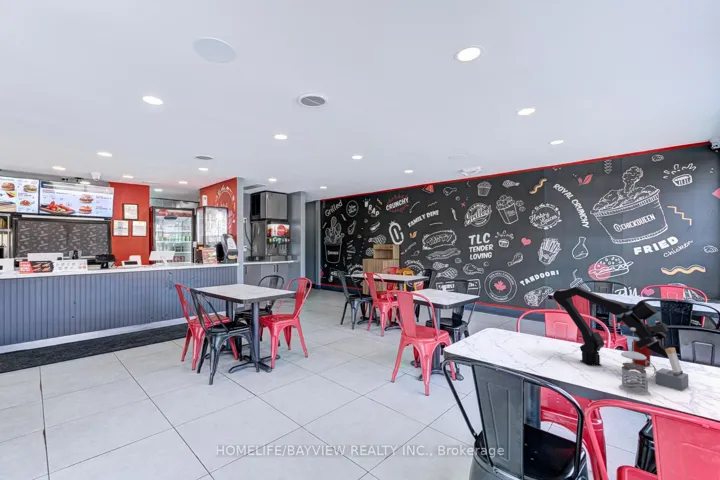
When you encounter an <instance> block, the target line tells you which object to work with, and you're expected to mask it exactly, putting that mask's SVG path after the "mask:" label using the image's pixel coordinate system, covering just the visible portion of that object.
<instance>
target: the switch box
mask: <svg viewBox="0 0 720 480" xmlns="http://www.w3.org/2000/svg"><path fill="white" fill-rule="evenodd" d="M681 371H682V372H681V373H680V374H677V373H675V372H673V370H672V369H668V368H663V367H662V368H660V369H658V370H655V372H656V373H657V374H656V377H655V378H654V379H655V385H658V386H661V387H665V388H668V389H673V390H676V391H680V392H682V391H684V390H686V389H687V388H688V387H689V384H690V383H689V374H688V373H684V370H681Z"/></svg>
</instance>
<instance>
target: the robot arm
mask: <svg viewBox="0 0 720 480" xmlns="http://www.w3.org/2000/svg"><path fill="white" fill-rule="evenodd" d="M575 296H577V297H580V298H582V299H584V300H587V301H590V302H591V303H594V304H597V305H599V306H600V307H602V308H603V309H604V310H605V311H607V312H608V313H610V314H612V315H614V316H616V324H621V323H623V324H625V326H626V327H627V328H628V329H629V330H630V328H635V329H636V331H631V332H630V333H631V334H632V335H633V334H635V335H636V337H637V338H638V339H640V340H639V341H637V342H636V346H637V347H638V348H639V349H641V348H643V347H644V346H646V345H648V347H646V348H647V349H650V351H652V352H654V353H657V354H658V355H660V356H662V357H664V358H666V359H669V358H668V355H667V354H666V351H665V349H667V348H666V346H665V345H664V340H665V339H664V338H666V337H667V336H668V335H667V334H665V333H666V332H669V331H670V330H669V328H668V324H666V323H664V322H662V321H657V322H655V324H654V325H649V324H648V323H644V322H643V321H641V320H644V321H647V320H649V319H650V318H652V317H653V316H655V315H656V314H658V313H659V312H658V310H657V309H656V307H654V306H653V305H652V304H649V303H648V302H646V301H645V300H641V301H640V302H638V303H637V304H636V305H634V306H631V305H628V304H626V303H625V302H623V301H620V300H616V299H609V298H606V297H604V296H601V295H599V294H596V293H594V292H592V291H589V290H588V289H587V290H586V289H584V288H583V287H581V286H573V287H572V288H568V289H561V290H555V291H554V292H553V294H552V298H553V300H554V301H555V302H556V303H557V305H559V306H561V307H562V308H563V309H564V310H565V311H566V312H567V313H566V314H568V316H569V317H570V319H571V320H572V321H573V323H574V324H575V326H576V327H577V329H578V330H579V332H580V333H581V335H582V340H583V342H584V344H582V345H580V346H579V349H580V352H581V360H579V362H581V363H583V364H585V365H586V366H591V367H592V366H596V367H599V366H602V364H601V363H600V362H601V360H600V359H601V358H600V357H601V356H600V350H601V349H602V348H603V347H604V346H605V341H604V337H602V335H601V334H600V332H599V331H594V330H592V328H591V327H590V325H589V324H588V323H587V322H586V320H585V319H584V317H583V316H582V315H581V313H580V311H579V310H578V308H576V306H575V305H574V302H573V297H575ZM628 313H629V314H628ZM619 315H622V316H619Z"/></svg>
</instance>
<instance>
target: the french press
mask: <svg viewBox="0 0 720 480" xmlns="http://www.w3.org/2000/svg"><path fill="white" fill-rule="evenodd" d="M629 330H630V331H631V332H632V331H636V329H635V328H630V329H629ZM634 336H635V335H634V334H632V341H633V351H632V350H628V351H627V350H626V351H623V352H621V353H620V356H621V357H623V358H626V359H630V360H632V359H633V361H632V362H622V366H621V384H620V385H618V388H619V389H620V390H622V391H623V392H626V393H629V394H633V395H637V396H651V392H650V391H649V389H648V388H649V385H648V384H649V383H648V382H649V381H653V380H654V379H655V377H656V374H657V373H656V371H657V369H656V366H655V365H654V364H653V363H652V362H651V361H650V362H649V361H648V362H649V363H650V365H652V367H653V370H654V373H653V375H652V376H651V377H647V375H648V373H647V371H646V366H641V365H639V364H635V363H634V359H635V360H646V359H647V357H646V356H644V355H643V354H640V353H638V352H635V351H634V339H635V337H634ZM646 361H647V360H646ZM646 361H645V364H646V365H647V362H646Z"/></svg>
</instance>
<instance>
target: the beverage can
mask: <svg viewBox="0 0 720 480" xmlns="http://www.w3.org/2000/svg"><path fill="white" fill-rule="evenodd" d="M639 340H640V338H634V351H635V352H638V353H640V354H643V355H644V356H646V357H647V359H646V360H647V361H646V360H635V359H634V364H639V365H641V366H644V367H648V366H650V365H651V364H650V363H649V362H651V350H650V349H647V348H646V347H648V345H646V346H644V347H643V348H641V349H639V348H638V347H637V346H636V342H637V341H639ZM631 351H633V340H632V341H631ZM631 360H632V362H633V359H631ZM645 361H646V362H647V365H646V364H645ZM648 361H649V362H648Z"/></svg>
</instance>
